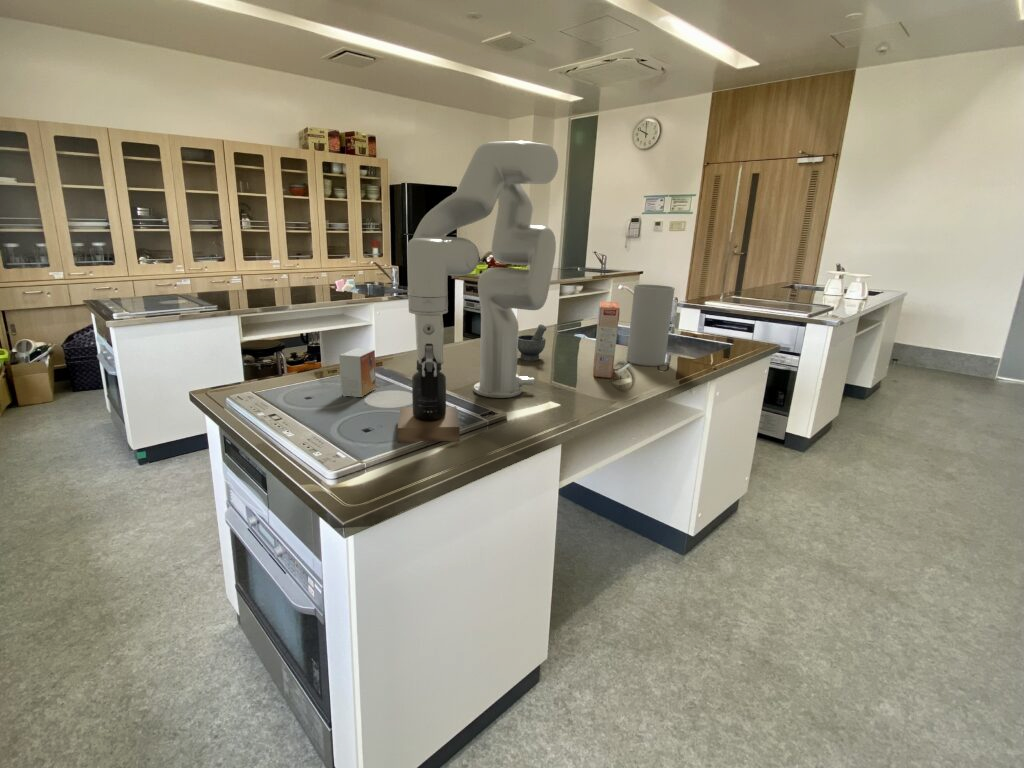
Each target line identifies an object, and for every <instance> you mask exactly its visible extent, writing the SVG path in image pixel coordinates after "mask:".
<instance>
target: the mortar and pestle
mask: <svg viewBox="0 0 1024 768" xmlns="http://www.w3.org/2000/svg"><path fill="white" fill-rule="evenodd" d="M546 331H547V327H546V325H544V324H538V327H537V330H536V331H535V333H534V335H533V334H524V335H522V334H519V335H518V351H519V352H520V353H521V354H520V359H521V360H523V361H529V362H531V361H538V360H540V354H541V353H542V352H543V351H544V349H545V347H546V338H545V337H544V334H545V332H546Z"/></svg>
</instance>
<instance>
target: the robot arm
mask: <svg viewBox="0 0 1024 768" xmlns="http://www.w3.org/2000/svg"><path fill="white" fill-rule="evenodd" d="M558 169H559V157H558V154H557V152H556V150H555V149H554V147H553V146H552V145H551V144H548V143H543V142H542V143H540V142H539V143H538V142H533V141H528V140H527V141H524V140H514V141H513V140H510V141H508V140H507V141H506V140H503V141H489V142H485V143H482V144H480V145H479V146H478V147H477V148H476V150H475V151H474V153H473V155H472V157H471V160H470V162H469V163H468V166H467V168H466V169H465V172H464V174H463V175H462V178H461V181H460V182H459V185H458V187H457V189H456V191H455V192H453V193H452V194H451V195H449V196H447V197H445V198H444V199H443V200H441V201H440V202H439V203H438V204H436V205H434V207H433V208H431V209H430V210H429V211H428V212H426V214H425V215H424V216H423V218H421V220H420V222H419V224H418V225H417V227H416V230H415V232H414V234H413V237H412V238H411V239H410V240H409V241H408V243H407V246H406V248H407V249H406V257H407V258H406V260H407V291H408V293H407V294H408V295H407V296H408V298H407V300H408V313H410V314H412V315H414V321H415V322H414V323H415V342H416V343H415V344H416V351H417V360H418V361H419V364H420V365H422V376H421V395H422V397H435V396H438V376H437V369H436V365H437V363H440V365H441V366H442V365H443V364H444V319H443V315H445V314H448V312H449V310H448V309H449V308H448V307H449V299H448V297H449V296H448V295H449V294H448V293H449V291H448V283H449V282H448V278H449V277H448V276H453V277H455V276H456V277H465V276H468V275H470V274H472V273H473V272H474V271H475V270H476V269H477V267H478V265H479V262H480V261H479V260H480V254H479V253H480V251H479V250H478V247H477V246H476V244H475V243H474V242H473V241H472V240H470V239H468V238H464V237H456V236H447V235H449V234H450V233H452V232H453V231H455V230H458V229H459V228H463V227H465V226H470V225H471V224H474V223H477V222H479V221H481V220H483V219H486V218H488V216H489V215H491V214H492V212H493V210H494V207H495V206H496V203H498V207H497V212H496V213H497V215H496V219H495V225H494V230H493V235H492V236H493V237H492V241H491V256H492V258H493V259H494V260H495V261H496V262H499V263H501V264H505V265H506V264H507V265H517V266H529V269H521V268H514V267H513V268H512V267H496V266H495V267H489V268H487V269H485V270H484V271H483V272H481V273H480V276H479V277H478V280H477V292H478V299H479V305H480V350H479V351H480V356H479V357H480V360H479V362H480V363H479V364H480V365H479V382H477V383H475V384H474V385H473V392H474V393H475V394H477V395H479V396H482V397H485V398H491V399H492V398H494V399H505V398H513V397H516V396H519V395H521V393H522V391H523V388H522V387H523V386H535V378H534V377H528V376H520V375H519V374H518V373H517V370H518V369H517V368H518V351H519V350H518V336H519V322H518V318H517V317H516V315H515V313H514V311H513V309H515V310H525V311H539V310H541V309H542V308H543V307H544V305H545V304H546V302H547V299H548V296H549V291H550V290H549V289H550V286H551V279H552V274H553V271H554V270H553V268H554V264H555V258H556V251H557V250H556V249H557V245H556V244H557V243H556V242H557V241H556V236H555V234H554V232H553V230H552V229H551V228H550V227H547V226H545V225H537V224H535V225H533V224H531V222H532V217H533V211H534V210H533V208H534V207H533V204H532V202H531V200H530V198H529V196H528V194H527V193H526V191H525V189H524V188H523V186H522V185H521V184H523V185H526V184H527V185H547V184H549V183H551V182H552V181H553V180H554V179H555V177H556V175H557V173H558ZM436 361H437V362H436Z"/></svg>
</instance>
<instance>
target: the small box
mask: <svg viewBox="0 0 1024 768" xmlns="http://www.w3.org/2000/svg"><path fill="white" fill-rule="evenodd" d="M338 359H339V371H340V372H339V373H340V374H339V375H340V376H339V377H340V391H341V394H340V395H341V396H342V395H343V396H342V397H346V396H356V397H363V396H364V395H366V394H367V393H369V392H370V391H372V390H373V389H374V388H376V389H377V383H376V382H377V378H376V377H377V376H376V375H377V374H376V351H375V349H368V348H367V349H365V348H357V347H356V348H353V349H351V350H349V351H347V352H344V353H341V354H339V356H338ZM372 392H373V391H372ZM369 394H370V393H369ZM367 395H368V394H367ZM367 395H366V396H367ZM356 397H355V398H356ZM364 397H365V396H364ZM364 397H363V398H364Z"/></svg>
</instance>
